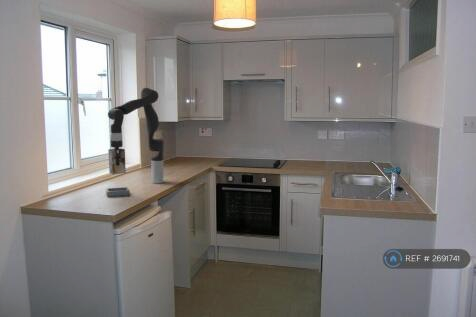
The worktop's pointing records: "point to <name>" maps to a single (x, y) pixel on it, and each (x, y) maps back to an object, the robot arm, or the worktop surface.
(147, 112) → the robot arm
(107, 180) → the worktop surface
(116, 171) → the coffee box
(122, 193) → the tray
